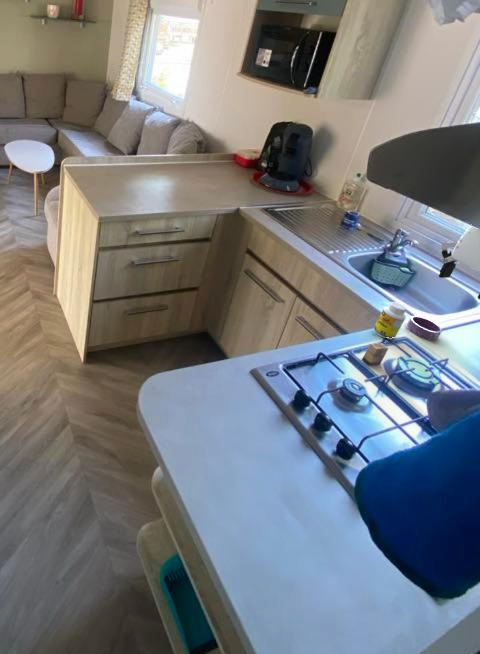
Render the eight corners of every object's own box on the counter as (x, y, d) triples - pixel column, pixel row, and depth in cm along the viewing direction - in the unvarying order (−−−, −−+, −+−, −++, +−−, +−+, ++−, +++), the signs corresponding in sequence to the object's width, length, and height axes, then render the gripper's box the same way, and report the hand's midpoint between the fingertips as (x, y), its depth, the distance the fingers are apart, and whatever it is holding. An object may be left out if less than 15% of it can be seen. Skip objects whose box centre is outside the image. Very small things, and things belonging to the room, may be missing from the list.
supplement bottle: (368, 327, 127) (383, 298, 123) (386, 329, 127) (401, 301, 123) (380, 339, 122) (395, 310, 118) (398, 341, 122) (414, 312, 118)
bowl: (428, 326, 132) (432, 319, 131) (443, 343, 125) (448, 335, 124) (401, 321, 133) (405, 313, 132) (415, 337, 125) (419, 329, 124)
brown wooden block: (373, 358, 113) (381, 342, 111) (379, 364, 111) (388, 348, 109) (361, 359, 112) (369, 343, 109) (368, 365, 110) (376, 349, 108)
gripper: (552, 243, 92) (510, 307, 99) (471, 211, 107) (439, 269, 114) (529, 243, 90) (488, 309, 97) (449, 210, 105) (419, 270, 112)
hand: (462, 287), depth 105 cm, fingers open, 9 cm apart
